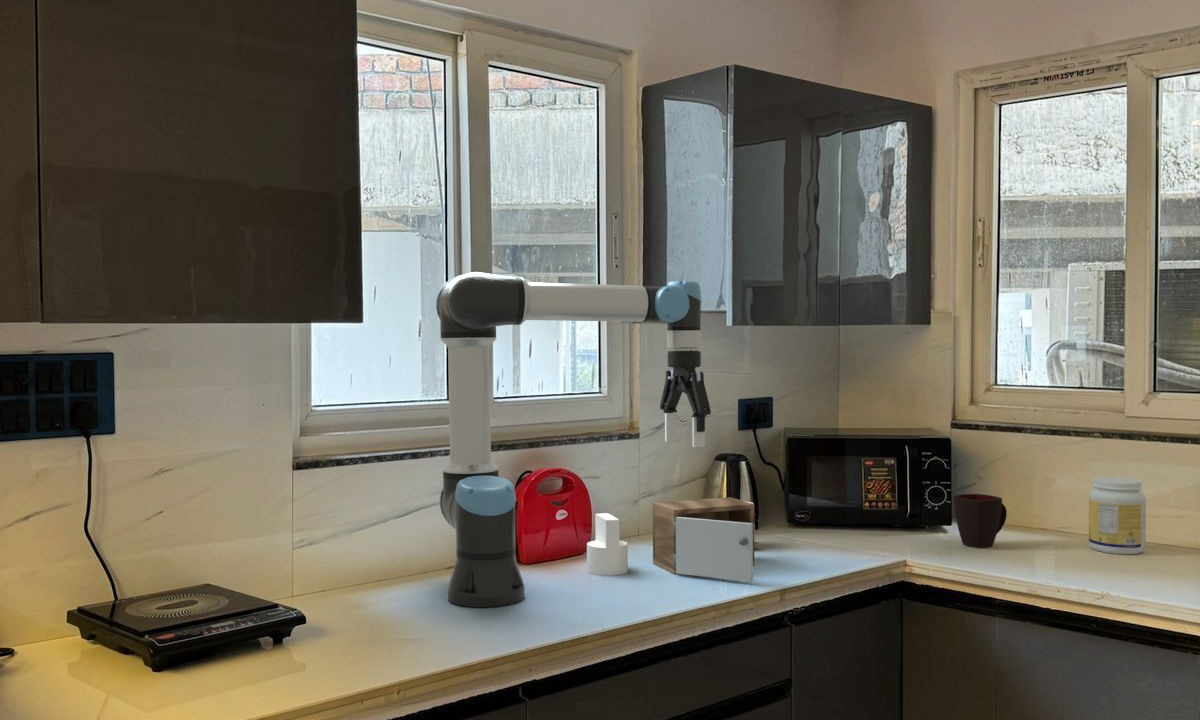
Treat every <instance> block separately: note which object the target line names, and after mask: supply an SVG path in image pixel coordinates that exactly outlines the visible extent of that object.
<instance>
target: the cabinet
mask: <svg viewBox="0 0 1200 720" xmlns="http://www.w3.org/2000/svg"><path fill="white" fill-rule="evenodd" d="M749 502H750V501H746V502H745V501H744V500H741V499H738V498H734V497H715V498H702V499H687V500H673V501H657V502H655V501H654V502H652V565H654V566H656V567H658V568H660V569H662V570H665V571H667V572H668V573H670V574H672V575H680V574H679V573H676V569H674V568H673V554H676V537H675V536H673V522H676V517H686V518H697V519H709V520H720V521H732V522H743V523H753V568H754V567H755V565H756V564H755V562H756V561H755V557H756V556H755V551H756V550H755V548H756V547H755V542H756V541H755V536H754V524H755V503H753V502H751V503H749ZM752 503H753V504H752Z"/></svg>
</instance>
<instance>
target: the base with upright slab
mask: <svg viewBox="0 0 1200 720" xmlns="http://www.w3.org/2000/svg"><path fill="white" fill-rule="evenodd" d="M594 515H595V525H594V526H595V527H594V528H595V535H594V537H595V539H594V540H591V541H589V542H587V543H586V571H587V573H589V574H590V575H596V576H617V575H624V574H626V573H628V571H629V569H628V568H629V567H628V562H629V561H628V557H629V555H628V553H629V549H628V546H629V545H628V542H627V541H624V540H620V519H619V518H617V517H615V516H614V515H612V514H610V513H609V512H602V513H601V512H600V513H595V514H594Z"/></svg>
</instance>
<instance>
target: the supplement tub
mask: <svg viewBox="0 0 1200 720" xmlns="http://www.w3.org/2000/svg"><path fill="white" fill-rule="evenodd" d="M1092 482H1093V483H1092V487H1093V489H1091V491H1090V492H1089V496H1088V501H1089V502H1088V544H1089V547H1090V548H1091V549H1092V550H1095V551H1097V552H1102V553H1106V554H1111V555H1112V554H1113V555H1137V554H1142V553H1143V552H1144V551H1145V550H1146V528H1147V527H1146V515H1147V514H1146V513H1147V512H1146V511H1147V510H1146V503H1147V502H1146V495H1145V494H1144V493H1143V492H1142V491H1141V490H1142V489H1143V486H1142V480H1140V479H1135V478H1129V477H1115V476H1114V477H1113V476H1112V477H1110V476H1109V477H1108V476H1106V477H1105V476H1104V477H1095V478H1093V481H1092Z"/></svg>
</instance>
